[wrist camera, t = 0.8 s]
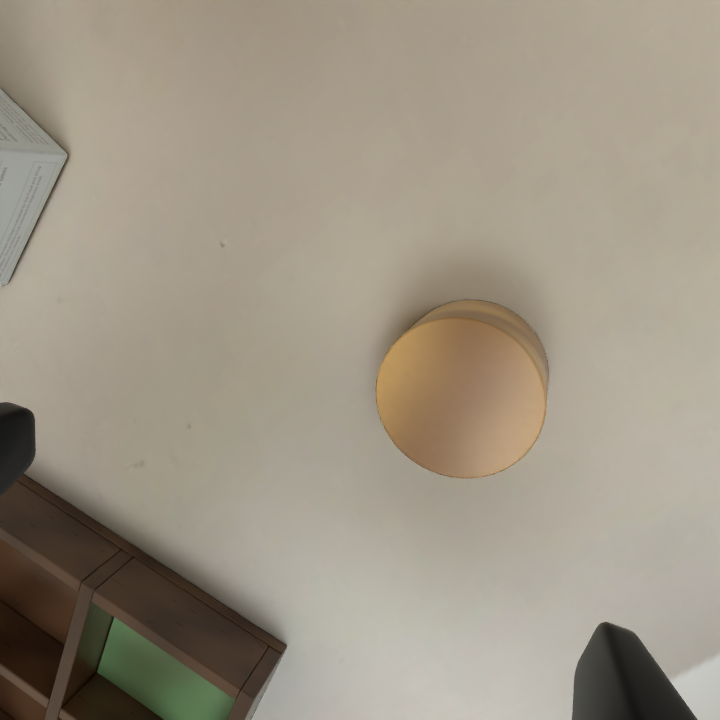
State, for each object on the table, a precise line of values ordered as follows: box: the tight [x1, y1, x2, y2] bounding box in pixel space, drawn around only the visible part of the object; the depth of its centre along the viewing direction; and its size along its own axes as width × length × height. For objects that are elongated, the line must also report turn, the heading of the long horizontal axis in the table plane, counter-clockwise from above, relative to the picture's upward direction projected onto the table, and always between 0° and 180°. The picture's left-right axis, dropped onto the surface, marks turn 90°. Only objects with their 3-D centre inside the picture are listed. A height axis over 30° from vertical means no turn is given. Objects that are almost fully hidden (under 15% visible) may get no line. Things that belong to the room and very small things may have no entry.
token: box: [376, 300, 549, 478], centre depth 18 cm, size 5×5×3 cm
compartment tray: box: [0, 474, 287, 720], centre depth 29 cm, size 17×17×3 cm
